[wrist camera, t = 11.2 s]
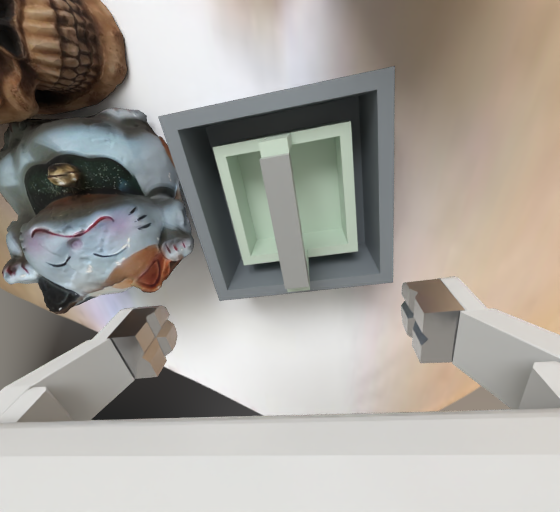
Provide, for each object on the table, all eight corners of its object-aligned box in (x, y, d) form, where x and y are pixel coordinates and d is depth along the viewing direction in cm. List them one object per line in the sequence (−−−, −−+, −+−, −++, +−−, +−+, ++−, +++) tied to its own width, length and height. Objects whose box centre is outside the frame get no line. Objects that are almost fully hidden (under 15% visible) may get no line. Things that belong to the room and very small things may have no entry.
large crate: (368, 80, 22) (394, 66, 16) (373, 246, 29) (393, 282, 22) (195, 116, 24) (158, 116, 18) (236, 263, 31) (219, 300, 25)
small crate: (342, 120, 23) (369, 122, 14) (349, 231, 27) (374, 289, 18) (227, 142, 24) (181, 157, 15) (252, 244, 28) (228, 305, 19)
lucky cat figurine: (180, 105, 24) (175, 212, 15) (199, 209, 33) (202, 312, 25) (-24, 103, 21) (-169, 234, 12) (59, 218, 30) (8, 338, 22)
